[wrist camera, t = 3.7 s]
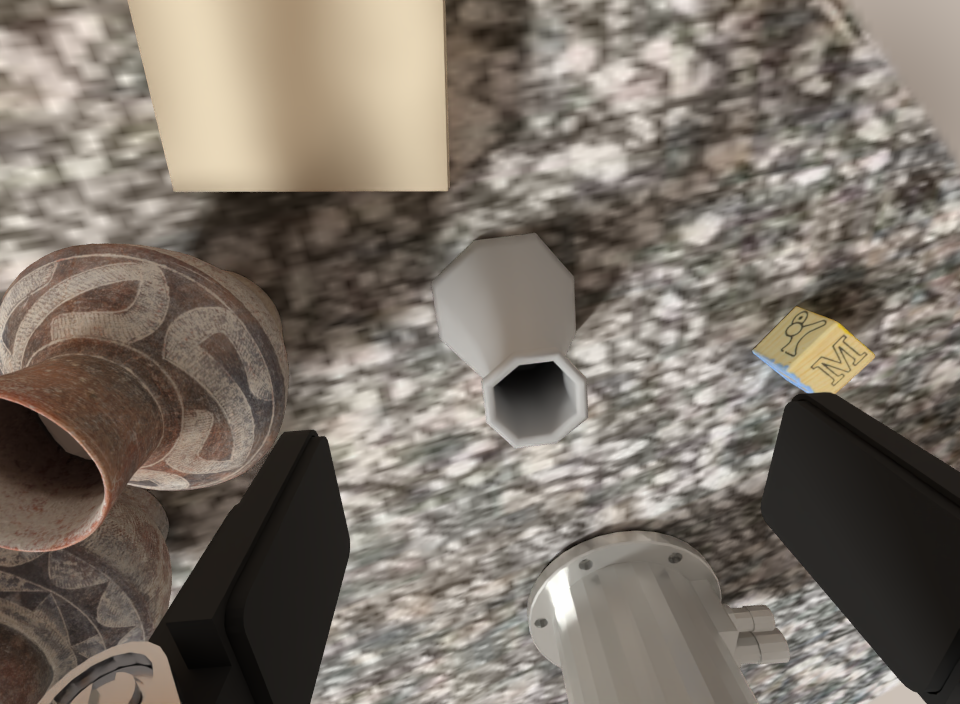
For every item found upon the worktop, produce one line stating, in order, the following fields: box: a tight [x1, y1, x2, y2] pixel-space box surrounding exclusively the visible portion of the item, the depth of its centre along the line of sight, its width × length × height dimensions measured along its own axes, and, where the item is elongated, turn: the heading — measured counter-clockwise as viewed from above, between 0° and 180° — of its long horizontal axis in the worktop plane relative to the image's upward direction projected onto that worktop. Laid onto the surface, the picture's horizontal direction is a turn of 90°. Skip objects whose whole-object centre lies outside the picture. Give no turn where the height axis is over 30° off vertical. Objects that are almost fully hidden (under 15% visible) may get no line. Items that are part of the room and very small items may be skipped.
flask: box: [431, 233, 588, 448], centre depth 18 cm, size 7×7×10 cm
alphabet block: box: [752, 306, 875, 394], centre depth 23 cm, size 3×3×3 cm
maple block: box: [128, 0, 450, 192], centre depth 17 cm, size 10×10×4 cm
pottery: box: [0, 244, 289, 704], centre depth 19 cm, size 11×25×12 cm, turn 145°
